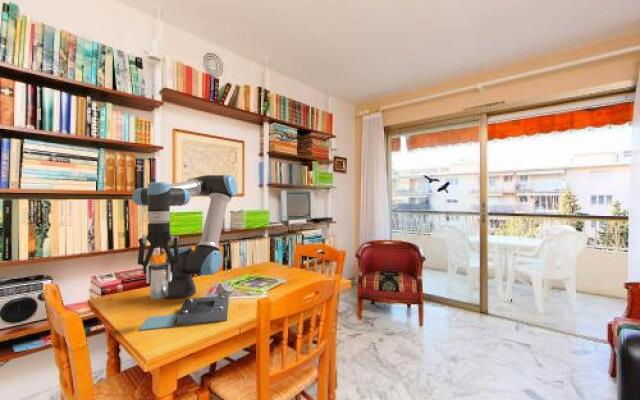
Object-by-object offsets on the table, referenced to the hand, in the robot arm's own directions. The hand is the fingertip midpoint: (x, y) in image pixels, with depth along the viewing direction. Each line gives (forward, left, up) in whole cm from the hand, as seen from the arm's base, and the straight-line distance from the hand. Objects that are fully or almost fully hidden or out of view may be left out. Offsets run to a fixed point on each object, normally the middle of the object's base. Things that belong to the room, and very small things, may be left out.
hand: (159, 281), depth 113 cm
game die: (-21, +23, -16) cm, 35 cm away
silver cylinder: (0, 0, -6) cm, 6 cm away
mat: (0, 0, -16) cm, 16 cm away
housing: (-4, +16, -16) cm, 23 cm away
